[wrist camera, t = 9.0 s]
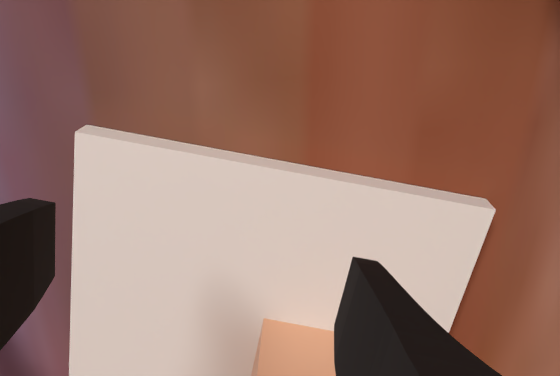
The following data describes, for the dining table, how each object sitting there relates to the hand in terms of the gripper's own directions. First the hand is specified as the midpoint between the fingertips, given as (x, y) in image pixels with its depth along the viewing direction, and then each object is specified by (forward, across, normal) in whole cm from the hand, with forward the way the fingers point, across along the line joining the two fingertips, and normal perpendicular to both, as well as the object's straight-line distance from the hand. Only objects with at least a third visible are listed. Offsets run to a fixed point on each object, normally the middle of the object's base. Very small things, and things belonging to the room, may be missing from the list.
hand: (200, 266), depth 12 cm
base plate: (+10, -2, +9) cm, 14 cm away
